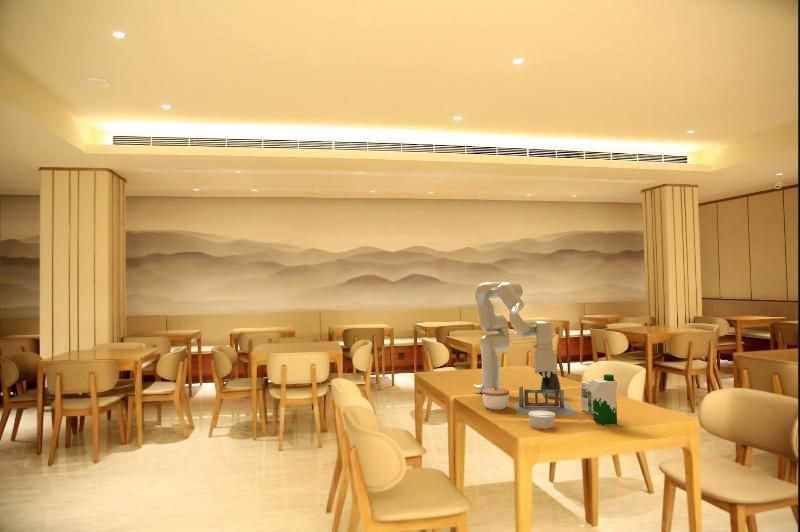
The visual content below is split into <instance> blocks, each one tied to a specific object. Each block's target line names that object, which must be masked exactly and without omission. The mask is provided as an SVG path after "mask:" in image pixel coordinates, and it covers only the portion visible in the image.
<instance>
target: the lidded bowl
mask: <svg viewBox="0 0 800 532" xmlns="http://www.w3.org/2000/svg"><path fill="white" fill-rule="evenodd" d="M482 393H483V394H482V401H483V404H484V406H485V408H487V409H489V410H498V411H499V410H503V409H506V408H507V406H508V405H509V400H510V390H509V389H506V388H502V387H500V388H497V386H494V388H486V389H483V390H482Z"/></svg>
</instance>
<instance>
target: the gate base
mask: <svg viewBox="0 0 800 532" xmlns="http://www.w3.org/2000/svg"><path fill="white" fill-rule="evenodd" d="M538 403H540V402H539V401H538ZM513 405H514V408H515V410H516V414H517V415H518V416H519V415H520V416H521V415H522V416H524V415H525V416H528V413H529V412H530V411H535V410H544V411H550V412H553V413H555V414H556V416H561V417H562V416H567V417H568V416H569V417H574V416H575V417H578V416H579V414H577V413H576V410H574V409H573V407H572V406H571V405H570V403H568V402H565V390H564V389H561V390H559V407H556V406H525V404H524V387H523V386H518V401H513Z"/></svg>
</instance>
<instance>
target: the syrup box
mask: <svg viewBox="0 0 800 532" xmlns="http://www.w3.org/2000/svg"><path fill="white" fill-rule="evenodd" d="M580 389H581V390H580V392H581V394H580V395H581V396H580V397H581V404H580V405H581V412H584V413H587V414H593V387H592V380H583V381H581V382H580Z"/></svg>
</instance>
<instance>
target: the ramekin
mask: <svg viewBox="0 0 800 532" xmlns="http://www.w3.org/2000/svg"><path fill="white" fill-rule="evenodd" d="M527 416H528V419H529V425H530V426H531V427H532V426H533V427H532V428H535V429H540V428H541V430H544V429H545V430H548V429H552V428H553V427H554V426H555V421H556V420H555V419H556V416H557V415H556V414H555V413H553V412H550V411H544V410H535V411H530V412H529V413H528V415H527Z"/></svg>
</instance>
